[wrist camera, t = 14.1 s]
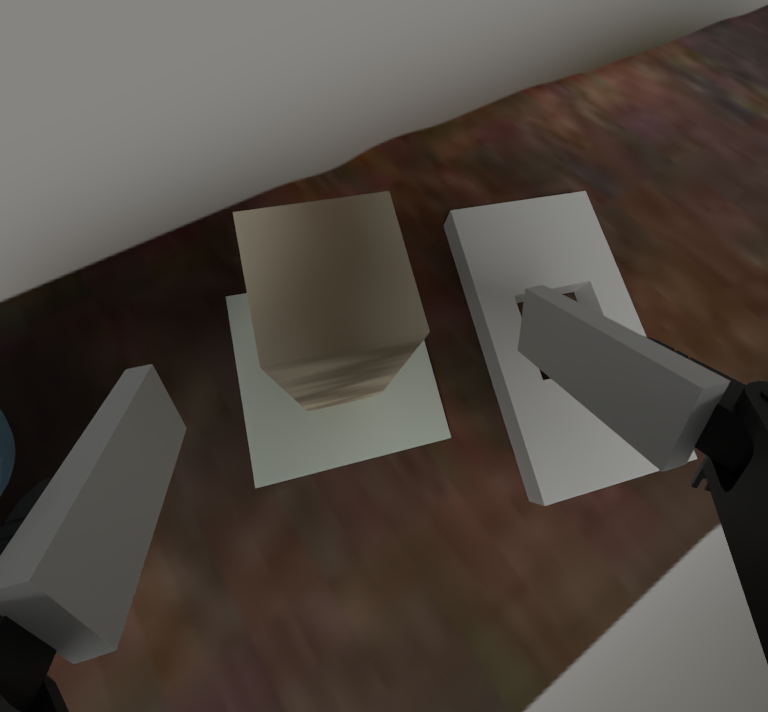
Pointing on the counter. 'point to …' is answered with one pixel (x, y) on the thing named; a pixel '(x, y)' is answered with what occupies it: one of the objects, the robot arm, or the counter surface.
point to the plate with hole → (502, 329)
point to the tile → (329, 414)
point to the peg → (330, 296)
